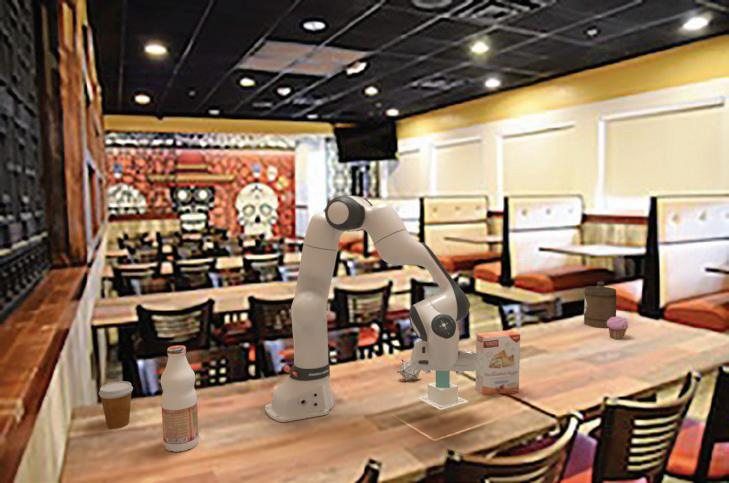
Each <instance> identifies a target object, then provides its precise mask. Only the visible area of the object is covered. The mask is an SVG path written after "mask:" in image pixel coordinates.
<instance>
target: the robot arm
mask: <svg viewBox="0 0 729 483" xmlns="http://www.w3.org/2000/svg"><path fill="white" fill-rule="evenodd" d="M363 230H364V231H365V232H366V233H367V234H368V235H369V237H370V239H371V241H372V244H373V246H374V249H375V250H376V252H377V254H378V256H379V257H380V258H381V259H382V261H384V262H385V263H387V264H390V265H394V266H420V267H423V268H425V269H426V270H427V272H428V273H429V274H430V276H431V277H432V278H433V280H434V281H435V282H436V284H437V286H439V288H440V289H441V291H439V292H438V293H436V294H434V295H432V296H429V297H427V298H425V299H422V300H421V301H418V302H416V303H415V304H412V305H411V307H410V309H409V313H408V319H409V323H410V326H411V328H412V330H413V333H414V334H415V335H416V337H418V339H420V341H419V340H418V341H416V342H414V347H413V349H412V350H411V354H410V360H411V369H413V370H421V371H423V372H424V373H425V375H431V371H435V372H436V371H450V372H455V376H461V374H462V373H464V372H476V360H477V359H478V354H477V353H476V352H474V351H473V350H460V349H459V343H460V331H459V327H458V323H457V322H458V321H461V320H463V319H465V318H467V316H468V314H469V313H470V312H469V311H470V308H471V303H470V300H469V298H468V297H467V295H466V293H465V292H464V291H463V290H462V289H461V287H460V286H459V285H458V283H457V282H456V281H455V280H454V279H453V277H452V276H451V275H450V273H449V272H448V270H447V269H446V267H445V266H444V265H443V264H442V262H441V261H440V260H439V258H438V257H437V255H436V253H434V251H433V250H432V249H431V247H429V246H428V245H427V244H426V243H425V242H421V241H418V240H416V239H415V238H414V237H413V236H412V235H411V234H410V232H409V231H408V229H407V227H406V225H405V223H404V221H403V220H402V218H401V216H400V215H399V213H398V212H397V210H395V208H394V206H392V205H391V204H390V203H387V202H379V203H375V204H374V205H373V204H372V203H371V201H369V200H368V199H367V198H364V197H360V196H356V195H338V196H335V197H333V198H332V199H331V200H329V201H328V203H327V205H326V206H325V211H320V212H317V213H316V212H315V213H314V214H313V215H312V216H311V218H310V221H309V222H308V225H307V229H306V232H305V235H304V241H303V246H302V250H301V255H300V256H301V257H300V260H299V261H300V262H299V267H298V275H297V280H296V286H295V292H294V297H293V300H292V304H291V306H290V311H291V312H290V313H291V325H292V326H291V329H292V338H293V359H294V360H293V364H292V366H290V365H287V364H286V365H284V367H283V371H284V372H286V373H289V376H288V377H287V378H286V379H285V380H284V381H283V382H282V383H281V384H280V385H278V386H277V387H276V388H275V389H273V393H272V397H271V403H267V404H266V405H265V408H264V412H265V414H266V415H267V416H268V417H269V418H270V419H272V420H274V421H276V422H281V423H286V422H291V421H298V420H304V419H310V418H315V417H321V416H325V415H328V414H329V412H330V410H331V409H332V408H334V406H335V401H334V399H333V394H332V389H331V385H330V378H331V369H330V368H331V366H330V364H331V363H330V362H329V345H328V343H329V339H328V314H327V312H328V311H327V310H328V309H327V308H328V301H329V300H328V299H329V295H330V291H331V290H330V289H331V285H332V280H333V276H334V271H335V266H336V259H337V256H338V248H339V243H340V238H342V235H343V234H344V233H345V232H346V233H347V232H359V231H360V232H361V231H363Z"/></svg>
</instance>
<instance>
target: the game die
mask: <svg viewBox="0 0 729 483" xmlns="http://www.w3.org/2000/svg"><path fill="white" fill-rule="evenodd" d="M401 361H402V363H401V365H400V369H399V370H398V371H397V372H396V373H399V374H400V375H401V376H402V379H404V383H407V382H409V381H416V380H418V378H419V375H420V373H421V371H422V370H413V369H411V359H410V360H409V359H408V360H403V359H401Z"/></svg>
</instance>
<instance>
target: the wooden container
mask: <svg viewBox="0 0 729 483" xmlns="http://www.w3.org/2000/svg"><path fill="white" fill-rule="evenodd" d="M596 283H597V284H596V286H587V287H585V288H584V303H583V304H584V305H583V308H584V309H583V324H585V325H586V326H589V327H592V328H599V329H600V328H603V329H605V328H606V329H609V327H608V326H607V321H608V320H609V319H610V318H611V317H617V289H616V288H613V287H605V282H603V281H602V280H599V281H597V282H596Z"/></svg>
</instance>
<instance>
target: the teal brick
mask: <svg viewBox="0 0 729 483" xmlns="http://www.w3.org/2000/svg"><path fill="white" fill-rule="evenodd" d="M450 372H451V371H435V382H436V387H442V388H450V383H451V376H450V374H451V373H450Z"/></svg>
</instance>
